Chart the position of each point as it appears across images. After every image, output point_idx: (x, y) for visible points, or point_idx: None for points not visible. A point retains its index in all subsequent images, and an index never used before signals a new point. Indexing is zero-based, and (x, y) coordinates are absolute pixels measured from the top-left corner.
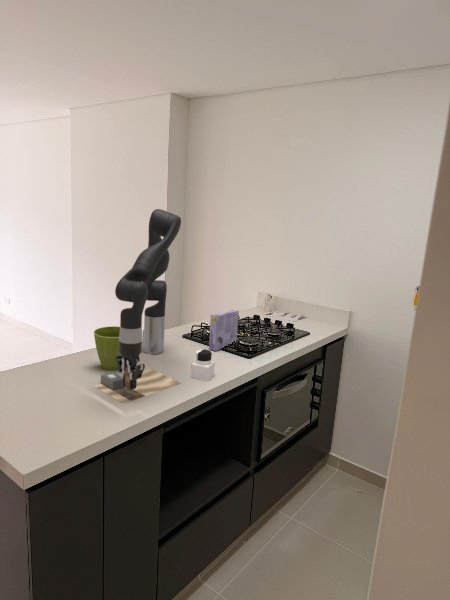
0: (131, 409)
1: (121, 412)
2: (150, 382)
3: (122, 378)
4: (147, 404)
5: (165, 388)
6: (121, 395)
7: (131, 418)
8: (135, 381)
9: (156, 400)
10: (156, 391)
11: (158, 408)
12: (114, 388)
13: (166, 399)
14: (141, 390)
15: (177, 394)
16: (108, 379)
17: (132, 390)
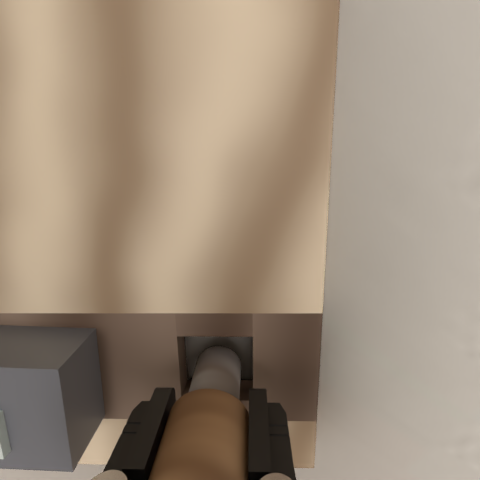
0: (359, 423)
1: (348, 473)
2: (135, 120)
3: (42, 382)
4: (378, 324)
5: (329, 93)
6: None
7: (440, 473)
8: (290, 470)
9: (377, 245)
10: (322, 200)
11: (474, 307)
12: (99, 408)
13: (419, 178)
14: (228, 279)
15: (422, 38)
16: (7, 468)
17: (236, 377)
